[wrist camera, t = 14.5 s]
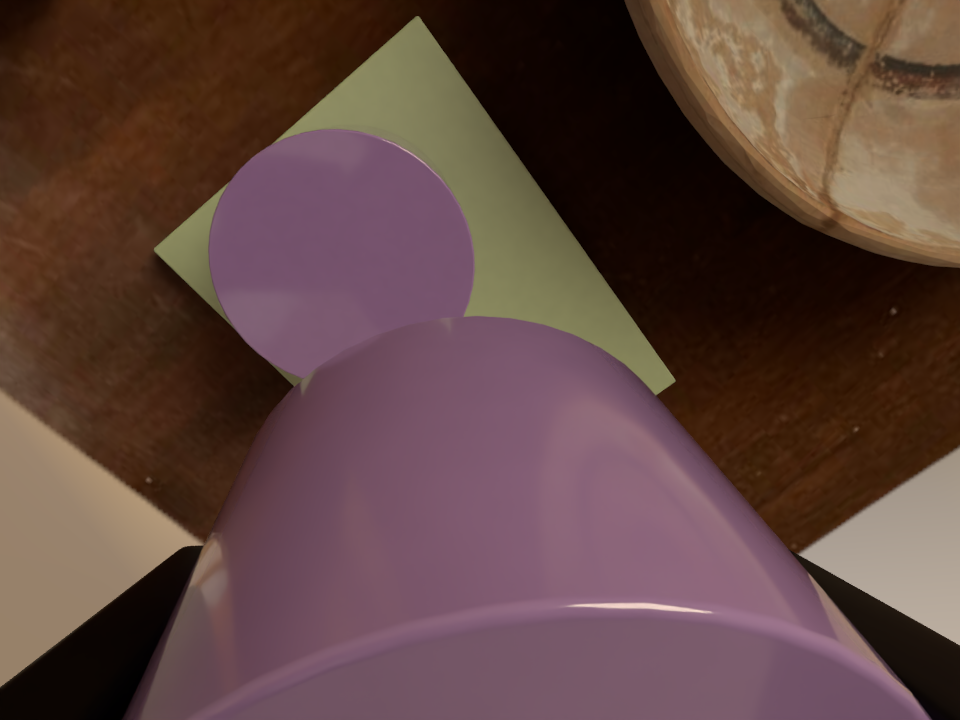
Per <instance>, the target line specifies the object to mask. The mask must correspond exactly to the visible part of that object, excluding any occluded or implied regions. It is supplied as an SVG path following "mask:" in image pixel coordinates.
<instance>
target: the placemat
mask: <svg viewBox="0 0 960 720" xmlns="http://www.w3.org/2000/svg"><path fill="white" fill-rule="evenodd" d="M352 124H357V125H366V126H372V127H376V128H380V129H384V130H387V131H389V132H392V133H394V134H397V135H399V136H401V137H402V138H404V139H406V140H408V141H409V142H411V143H412V144H414V145H415V146H416V147H418V148H419V149H420V150H422V151H423V152H424V153H425V154H426V155H427V156H428V157H429V158H430V159H431V160H432V161H433V162H434V164H435V165H436V166H437V167H438V169H439V170H440V171H441V173H442V174H443V176H444V178H445V179H446V181H447V182H448V184H449V186H450V188H451V190H452V191H453V193H454V195H455V197H456V199H457V201H458V202H459V204H460V206H461V209H462V211H463V213H464V215H465V218H466V220H467V223H468V226H469V229H470V233H471V236H472V241H473V248H474V255H475V274H474V283H473V289H472V293H471V297H470V301H469V304H468V307H467V309H466V312H465V314H464V317H469V316H485V317H502V318H513V319H518V320H523V321H529V322H534V323H539V324H544V325H547V326H550V327H553V328H556V329H559V330H562V331H565V332H568V333H571V334H574V335H576V336H578V337H580V338H582V339H584V340H586V341H588V342H590V343H592V344H594V345H596V346H598V347H600V348H602V349H603V350H605V351H606V352H608V353H609V354H610V355H612V356H613V357H615V358H616V359H618V360H619V361H621V362H622V363H624V364H625V365H626V366H627V367H628V368H629V369H630V370H632V371H633V372H634V373H635V374H636V375H637V376H638V377H639V378H640V379H641V380H642V381H643V382H644V383H646V385H647V386H648V387H649V388H650V389H651V390H652V392H653V393H654V394H655V395H657V394H658V393H660V392H661V391H663V390H664V389H665V388H667V387H668V386H670V385H671V384H673V383H674V382H675V379H674V377H673V376H672V374H671V373H670V372H669V370H668V369H667V367H666V366H665V365H664V363H663V362H662V360H661V359H660V357H659V356H658V355H657V353H656V352H655V350H654V349H653V348H652V346H651V345H650V343H649V342H648V340H647V339H646V338H645V336H644V335H643V333H642V332H641V331H640V329H639V328H638V326H637V325H636V323H635V322H634V321H633V319H632V318H631V316H630V315H629V313H628V312H627V311H626V309H625V308H624V306H623V305H622V304H621V302H620V301H619V299H618V298H617V296H616V295H615V294H614V292H613V291H612V289H611V288H610V287H609V285H608V284H607V282H606V281H605V279H604V278H603V277H602V275H601V274H600V272H599V271H598V270H597V268H596V267H595V265H594V264H593V262H592V261H591V260H590V258H589V257H588V255H587V254H586V253H585V251H584V250H583V248H582V247H581V245H580V244H579V243H578V241H577V240H576V238H575V237H574V236H573V234H572V233H571V231H570V230H569V228H568V227H567V226H566V224H565V223H564V221H563V220H562V219H561V217H560V216H559V214H558V213H557V211H556V210H555V209H554V207H553V206H552V204H551V203H550V201H549V200H548V199H547V197H546V196H545V194H544V193H543V192H542V190H541V189H540V187H539V186H538V184H537V183H536V182H535V180H534V179H533V177H532V176H531V175H530V173H529V172H528V170H527V169H526V167H525V166H524V165H523V163H522V162H521V160H520V159H519V158H518V156H517V155H516V153H515V152H514V150H513V149H512V148H511V146H510V145H509V143H508V142H507V141H506V139H505V138H504V136H503V135H502V133H501V132H500V131H499V129H498V128H497V126H496V125H495V124H494V122H493V121H492V119H491V118H490V116H489V115H488V114H487V112H486V111H485V109H484V108H483V107H482V105H481V104H480V102H479V101H478V99H477V98H476V97H475V95H474V94H473V92H472V91H471V89H470V88H469V87H468V85H467V84H466V82H465V81H464V80H463V78H462V77H461V75H460V74H459V72H458V71H457V70H456V68H455V67H454V65H453V64H452V63H451V61H450V60H449V58H448V57H447V55H446V54H445V53H444V51H443V50H442V48H441V47H440V46H439V44H438V43H437V41H436V40H435V38H434V37H433V36H432V34H431V33H430V31H429V30H428V29H427V27H426V26H425V24H424V23H423V21H422V20H421V19H420V17H418V16H417V17H415V18H414V19H413V20H411V21H410V22H409V23H408V24H407V25H406V26H405V27H404V28H402V29H401V30H400V31H399V32H398V33H397V34H396V35H395V36H393V37H392V38H391V39H390V40H389V41H388V42H387V43H386V44H384V45H383V46H382V47H381V48H380V49H379V50H378V51H376V52H375V53H374V54H373V55H372V56H371V57H370V58H369V59H367V60H366V61H365V62H364V63H363V64H362V65H361V66H360V67H358V68H357V69H356V70H355V71H354V72H353V73H352V74H350V75H349V76H348V77H347V78H346V79H345V80H344V81H343V82H341V83H340V84H339V85H338V86H337V87H336V88H335V89H334V90H332V91H331V92H330V93H329V94H328V95H327V96H326V97H325V98H323V99H322V100H321V101H320V102H319V103H318V104H317V105H315V106H314V107H313V108H312V109H311V110H310V111H309V112H308V113H306V114H305V115H304V116H303V117H302V118H301V119H300V120H299V121H297V122H296V123H295V124H294V125H293V126H292V127H291V128H290V129H288V130H287V131H286V132H285V133H284V134H283V135H282V136H280V137H279V138H278V139H277V140H276V141H275V142H274V143H276V142H278V141H280V140H282V139H284V138H287V137H290V136H293V135H296V134H300V133H303V132H307V131H312V130H317V129H321V128H326V127H331V126H337V125H352ZM274 143H273V144H274ZM271 145H272V144H271ZM227 185H228V183H227V184H226V185H225V186H224V187H223V188H222V189H221V190H219V191H218V192H217V193H216V194H215V195H214V196H213V197H212V198H210V199H209V200H208V201H207V202H206V203H205V204H204V205H203V206H201V207H200V208H199V209H198V210H197V211H196V212H195V213H194V214H192V215H191V216H190V217H189V218H188V219H187V220H186V221H184V222H183V223H182V224H181V225H180V226H179V227H178V228H177V229H175V230H174V231H173V232H172V233H171V234H170V235H169V236H168V237H166V238H165V239H164V240H163V241H162V242H161V243H160V244H158V245H157V246H156V247H155V248H154V252H155V253H156V254H157V255H158V256H159V257H160V258H161V259H163V260H164V261H165V262H166V263H167V264H168V265H169V266H170V267H171V268H172V269H173V270H174V271H175V272H176V273H177V274H178V275H179V276H180V277H181V278H182V279H183V280H184V281H185V282H186V283H187V284H188V285H189V286H191V287H192V288H193V289H194V290H195V291H196V292H197V293H198V294H199V295H200V296H201V297H202V298H203V299H204V300H205V301H206V302H207V303H208V304H209V305H210V306H211V307H212V308H213V309H214V310H215V311H216V312H217V313H219V314H220V315H221V316H222V317H223V318H224V319H225V320H226V321H227V322H228V323H229V324H230V325H231V326H232V324H231V323H230V321H229V319H228V318H227V316H226V315H225V313H224V311H223V309H222V307H221V305H220V303H219V301H218V298H217V295H216V292H215V289H214V286H213V283H212V278H211V273H210V268H209V255H208V244H209V233H210V228H211V223H212V219H213V215H214V212H215V209H216V207H217V204H218V202H219V199H220V197H221V195H222V194H223V192H224V190H225V188H226V187H227ZM232 327H233V326H232ZM233 328H234V327H233ZM268 362H269V361H268ZM269 363H270V362H269ZM270 364H271V363H270ZM271 365H272V366H273V367H274V368H276V369H277V370H278V371H279V372H280V373H281V374H282V375H283V376H284V377H285V378H286V379H287V380H288V381H289V382H290V383H291V384H292V385H293V386H296V385H297V384H298V383H299V382H300V381H301V380H303V379H302V378H299V377H297V376H294V375H292V374H290V373H287V372H285V371H284V370H282V369H280V368H278V367H277V366H275V365H273V364H271Z"/></svg>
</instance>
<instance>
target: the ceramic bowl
mask: <svg viewBox="0 0 960 720" xmlns="http://www.w3.org/2000/svg"><path fill="white" fill-rule="evenodd" d="M624 1H625V4H626V6H627V8H628V11H629V13H630V16H631V18H632V21H633V23H634V26H635V28H636V30H637V33H638V35H639V38H640V40H641V42H642V44H643V45H644V47H645V49H646V51H647V53H648V55H649V57H650V59H651V61H652V63H653V65H654V67H655V69H656V71H657V73H658V74H659V76H660V78H661V79H662V81H663V82H664V84H665V85H666V87H667V89H668V90H669V92H670V93H671V95H672V96H673V98H674V100H675V101H676V103H677V104H678V106H679V107H680V109H681V111H682V112H683V114H684V115H685V116H686V118H687V119H688V120H689V122H690V123H691V124H692V125H693V127H694V128H695V129H696V130H697V132H698V133H699V134H700V135H701V137H702V138H703V139H704V140H705V142H706V143H707V144H708V145H709V146H710V148H711V149H712V150H713V151H714V152H715V153H716V154H717V156H718V157H719V158H720V159H721V160H722V161H723V162H724V163H725V164H726V165H727V166H728V167H729V168H730V169H731V170H732V171H733V172H735V173H736V174H737V175H738V176H739V177H740V178H741V179H742V180H743V181H745V182H746V183H747V184H748V185H749V186H750V187H751V188H752V189H753V190H754V191H756V192H757V193H758V194H759V195H761V196H762V197H763V198H765V199H766V200H768V201H769V202H771V203H772V204H773V205H775V206H776V207H778V208H779V209H781V210H782V211H783V212H785V213H786V214H788V215H789V216H791V217H793V218H794V219H796V220H797V221H799V222H800V223H802V224H804V225H806V226H808V227H810V228H813V229H815V230H817V231H820V232H822V233H824V234H826V235H829V236H831V237H834V238H836V239H839V240H841V241H844V242H847V243H849V244H852V245H854V246H857V247H859V248H862V249H864V250H867V251H870V252H873V253H876V254H880V255H884V256H888V257H892V258H895V259H899V260H903V261H909V262H914V263H920V264H926V265H931V266H941V267H958V268H960V0H624Z"/></svg>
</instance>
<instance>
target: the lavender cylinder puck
mask: <svg viewBox="0 0 960 720" xmlns="http://www.w3.org/2000/svg"><path fill="white" fill-rule="evenodd" d="M122 720H932V719H931V717H930V716H929V715H928V714H927V712H926V711H925V710H924V708H923V707H922V706H921V704H920V703H919V702H918V700H917V699H916V698H915V697H914V695H913V694H912V693H911V691H910V690H909V689H908V688H907V687H906V686H905V685H904V683H903V682H902V681H901V680H900V679H899V678H898V676H897V675H896V674H895V673H894V672H893V671H892V669H891V668H890V667H889V666H888V665H887V664H886V662H885V661H884V660H883V659H882V658H881V657H880V655H879V654H878V653H877V652H876V651H875V650H874V648H873V647H872V646H871V645H870V644H869V643H868V642H867V640H866V639H865V638H864V637H863V636H862V635H861V633H860V632H859V631H858V630H857V629H856V628H855V626H854V625H853V624H852V623H851V622H850V621H849V619H848V618H847V617H846V616H845V615H844V614H843V612H842V611H841V610H840V609H839V608H838V607H837V605H836V604H835V603H834V602H833V601H832V600H831V599H830V597H829V596H828V595H827V594H826V593H825V592H824V590H823V589H822V588H821V587H820V586H819V585H818V583H817V582H816V581H815V580H814V579H813V578H812V576H811V575H810V574H809V573H808V572H807V571H806V569H805V568H804V567H803V566H802V565H801V564H800V562H799V561H798V560H797V559H796V558H795V557H794V556H793V554H792V553H791V552H790V551H789V550H788V549H787V547H786V546H785V545H784V544H783V543H782V542H781V540H780V539H779V538H778V537H777V536H776V535H775V533H774V532H773V531H772V530H771V529H770V528H769V526H768V525H767V524H766V523H765V522H764V521H763V519H762V518H761V517H760V516H759V515H758V514H757V513H756V511H755V510H754V509H753V508H752V507H751V506H750V504H749V503H748V502H747V501H746V500H745V499H744V497H743V496H742V495H741V494H740V493H739V492H738V490H737V489H736V488H735V487H734V486H733V485H732V483H731V482H730V481H729V480H728V479H727V478H726V476H725V475H724V474H723V473H722V472H721V471H720V469H719V468H718V467H717V466H716V465H715V464H714V463H713V461H712V460H711V459H710V458H709V457H708V456H707V454H706V453H705V452H704V451H703V450H702V449H701V447H700V446H699V445H698V444H697V443H696V442H695V440H694V439H693V438H692V437H691V436H690V435H689V433H688V432H687V431H686V430H685V429H684V428H683V426H682V425H681V424H680V423H679V422H678V421H677V420H676V418H675V417H674V416H673V415H672V414H671V413H670V411H669V410H668V409H667V408H666V407H665V406H664V404H663V403H662V402H661V401H660V400H659V399H658V397H657V396H656V395H655V394H654V393H653V392H652V390H651V389H650V388H649V387H648V386H647V385H646V383H644V382H643V381H642V380H641V379H640V378H639V377H638V376H637V375H636V374H635V373H634V372H633V371H632V370H630V369H629V368H628V367H627V366H626V365H625V364H624V363H622V362H621V361H619V360H618V359H616V358H615V357H613V356H612V355H610V354H609V353H608V352H606V351H605V350H603V349H602V348H600V347H598V346H596V345H594V344H592V343H590V342H588V341H586V340H584V339H582V338H580V337H578V336H576V335H574V334H571V333H568V332H565V331H562V330H559V329H556V328H553V327H550V326H547V325H544V324H539V323H534V322H529V321H523V320H518V319H513V318H502V317H485V316H469V317H453V318H441V319H435V320H430V321H425V322H420V323H415V324H409V325H406V326H403V327H400V328H397V329H393V330H390V331H387V332H384V333H381V334H378V335H375V336H373V337H371V338H369V339H367V340H364V341H362V342H360V343H358V344H356V345H354V346H352V347H350V348H347V349H345V350H343V351H342V352H340V353H339V354H337V355H336V356H334V357H333V358H331V359H329V360H328V361H326V362H325V363H323V364H322V365H320V366H319V367H317V368H316V369H314V370H313V371H312V372H311V373H310V374H309V375H307V376H306V377H305V378H304V379H303V380H301V381H300V382H299V383H298V384H297V385H296V386H294V387H293V388H292V389H291V390H290V391H289V392H288V393H287V395H286V396H285V397H284V398H283V399H282V400H281V401H280V403H279V404H278V405H277V406H276V407H275V408H274V409H273V410H272V412H271V413H270V414H269V416H268V417H267V419H266V420H265V422H264V424H263V425H262V427H261V428H260V430H259V431H258V433H257V434H256V436H255V437H254V439H253V442H252V444H251V446H250V448H249V450H248V452H247V454H246V457H245V459H244V461H243V463H242V465H241V467H240V469H239V471H238V474H237V476H236V478H235V480H234V482H233V484H232V486H231V489H230V491H229V493H228V495H227V497H226V499H225V501H224V503H223V506H222V508H221V510H220V512H219V514H218V516H217V518H216V521H215V523H214V525H213V527H212V529H211V531H210V533H209V535H208V538H207V540H206V542H205V544H204V546H203V548H202V550H201V553H200V555H199V557H198V559H197V561H196V563H195V565H194V567H193V570H192V572H191V574H190V576H189V578H188V580H187V582H186V585H185V587H184V589H183V591H182V593H181V595H180V597H179V599H178V602H177V604H176V606H175V608H174V610H173V612H172V614H171V617H170V619H169V621H168V623H167V625H166V627H165V629H164V631H163V634H162V636H161V638H160V640H159V642H158V644H157V646H156V649H155V651H154V653H153V655H152V657H151V659H150V661H149V664H148V666H147V668H146V670H145V672H144V674H143V676H142V678H141V681H140V683H139V685H138V687H137V689H136V691H135V693H134V696H133V698H132V700H131V702H130V704H129V706H128V708H127V710H126V713H125V715H124V717H123V719H122Z"/></svg>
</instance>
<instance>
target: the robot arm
mask: <svg viewBox="0 0 960 720" xmlns="http://www.w3.org/2000/svg"><path fill="white" fill-rule="evenodd" d="M202 548H203V546H187V547H183V548H181V549H180V550H178V551H177V552H175V553H174V554H173V555H172V556H170V557H169V558H168V559H166V560H165V561H164V562H162V563H161V564H160V565H159V566H157V567H156V568H155V569H153V570H152V571H151V572H149V573H148V574H147V575H146V576H144V577H143V578H142V579H140V580H139V581H138V582H137V583H135V584H134V585H133V586H131V587H130V588H129V589H127V590H126V591H125V592H124V593H122V594H121V595H120V596H119V597H117V598H116V599H114V600H113V601H112V602H111V603H109V604H108V605H107V606H105V607H104V608H103V609H101V610H100V611H99V612H97V613H96V614H95V615H94V616H92V617H91V618H90V619H88V620H87V621H86V622H84V623H83V624H82V625H81V626H79V627H78V628H77V629H75V630H74V631H73V632H72V633H70V634H69V635H68V636H66V637H65V638H64V639H62V640H61V641H60V642H59V643H57V644H56V645H55V646H53V647H52V648H51V649H49V650H48V651H47V652H46V653H44V654H43V655H42V656H40V657H39V658H38V659H36V660H35V661H34V662H33V663H32V664H30V665H29V666H27V667H26V668H25V669H24V670H22V671H21V672H20V673H18V674H17V675H16V676H14V677H13V678H12V679H10V681H8V682H7V683H5V684H4V685H3V686H1V687H0V720H122V719H123V717H124V715H125V713H126V710H127V708H128V706H129V704H130V702H131V700H132V698H133V696H134V693H135V691H136V689H137V687H138V685H139V683H140V681H141V678H142V676H143V674H144V672H145V670H146V668H147V666H148V664H149V661H150V659H151V657H152V655H153V653H154V651H155V649H156V646H157V644H158V642H159V640H160V638H161V636H162V634H163V631H164V629H165V627H166V625H167V623H168V621H169V619H170V617H171V614H172V612H173V610H174V608H175V606H176V604H177V602H178V599H179V597H180V595H181V593H182V591H183V589H184V587H185V585H186V582H187V580H188V578H189V576H190V574H191V572H192V570H193V567H194V565H195V563H196V561H197V559H198V557H199V555H200V553H201V550H202ZM788 550H789V549H788ZM789 551H790V550H789ZM790 552H791V553H792V554H793V556H794V557H795V558H796V559H797V560H798V561H799V562H800V564H801V565H802V566H803V567H804V568H805V569H806V571H807V572H808V573H809V574H810V575H811V576H812V578H813V579H814V580H815V581H816V582H817V583H818V585H819V586H820V587H821V588H822V589H823V590H824V592H825V593H826V594H827V595H828V596H829V597H830V599H831V600H832V601H833V602H834V603H835V604H836V605H837V607H838V608H839V609H840V610H841V611H842V612H843V614H844V615H845V616H846V617H847V618H848V619H849V621H850V622H851V623H852V624H853V625H854V626H855V628H856V629H857V630H858V631H859V632H860V633H861V635H862V636H863V637H864V638H865V639H866V640H867V642H868V643H869V644H870V645H871V646H872V647H873V648H874V650H875V651H876V652H877V653H878V654H879V655H880V657H881V658H882V659H883V660H884V661H885V662H886V664H887V665H888V666H889V667H890V668H891V669H892V671H893V672H894V673H895V674H896V675H897V676H898V678H899V679H900V680H901V681H902V682H903V683H904V685H905V686H906V687H907V688H908V689H909V690H910V691H911V693H912V694H913V695H914V697H915V698H916V699H917V700H918V702H919V703H920V704H921V706H922V707H923V708H924V710H925V711H926V712H927V714H928V715H929V716H930V717H931V719H932V720H960V645H958V644H956V643H954V642H953V641H951V640H949V639H947V638H946V637H944V636H942V635H940V634H938V633H936V632H935V631H933V630H931V629H930V628H928V627H926V626H924V625H922V624H921V623H919V622H917V621H915V620H913V619H912V618H910V617H908V616H906V615H905V614H903V613H901V612H899V611H897V610H896V609H894V608H892V607H890V606H888V605H887V604H885V603H883V602H881V601H880V600H878V599H876V598H874V597H872V596H871V595H869V594H867V593H865V592H863V591H862V590H860V589H858V588H856V587H855V586H853V585H851V584H849V583H847V582H845V581H844V580H842V579H840V578H838V577H837V576H835V575H833V574H831V573H830V572H828V571H826V570H824V569H822V568H821V567H819V566H817V565H815V564H814V563H812V562H810V561H808V560H807V559H804V558H803V557H801V556H799V555H798V554H796V553H794V552H792V551H790Z"/></svg>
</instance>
